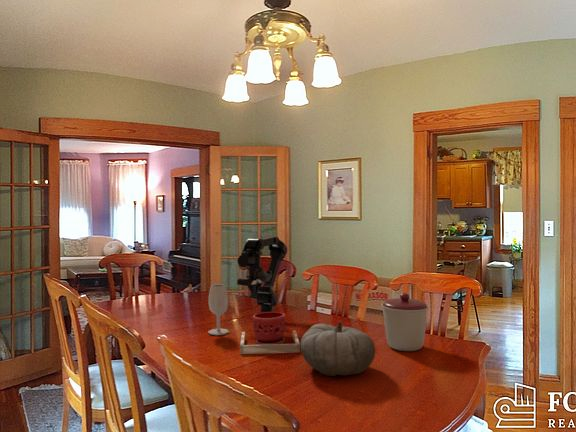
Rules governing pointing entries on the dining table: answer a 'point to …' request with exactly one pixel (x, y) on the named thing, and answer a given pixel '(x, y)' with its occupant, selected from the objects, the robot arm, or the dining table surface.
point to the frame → (270, 347)
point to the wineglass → (218, 305)
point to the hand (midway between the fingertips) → (254, 297)
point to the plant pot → (269, 327)
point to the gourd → (337, 349)
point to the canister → (405, 322)
